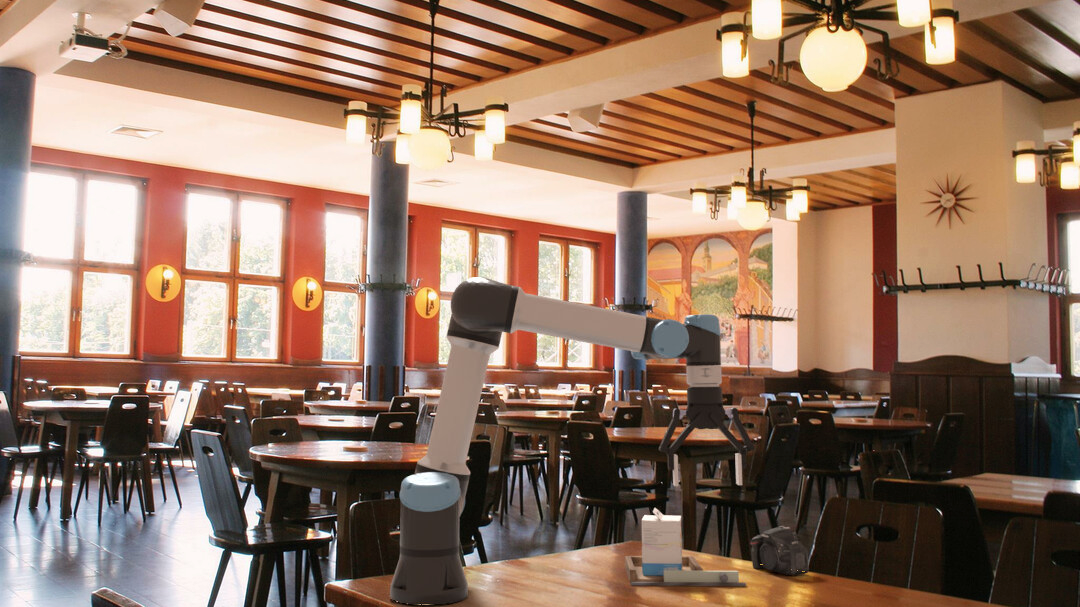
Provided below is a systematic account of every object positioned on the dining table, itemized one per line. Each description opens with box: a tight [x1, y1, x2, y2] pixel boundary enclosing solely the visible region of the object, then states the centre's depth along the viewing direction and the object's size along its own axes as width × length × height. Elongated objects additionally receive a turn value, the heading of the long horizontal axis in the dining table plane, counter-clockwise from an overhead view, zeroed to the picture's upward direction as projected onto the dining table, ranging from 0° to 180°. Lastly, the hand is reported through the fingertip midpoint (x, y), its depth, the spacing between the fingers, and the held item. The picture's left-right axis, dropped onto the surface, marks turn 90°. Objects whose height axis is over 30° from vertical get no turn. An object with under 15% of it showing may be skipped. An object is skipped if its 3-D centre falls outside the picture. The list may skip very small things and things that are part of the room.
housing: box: [624, 555, 747, 587], centre depth 193 cm, size 24×18×3 cm
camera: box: [750, 525, 810, 576], centre depth 198 cm, size 13×10×10 cm
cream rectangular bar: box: [664, 570, 740, 583], centre depth 185 cm, size 15×2×3 cm, turn 89°
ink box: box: [641, 507, 683, 576], centre depth 194 cm, size 9×8×13 cm
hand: (707, 485), depth 191 cm, fingers open, 13 cm apart
